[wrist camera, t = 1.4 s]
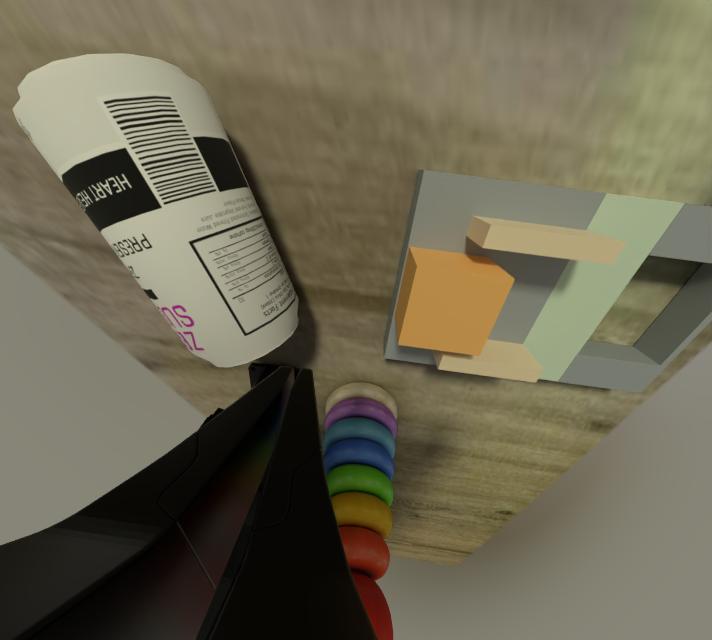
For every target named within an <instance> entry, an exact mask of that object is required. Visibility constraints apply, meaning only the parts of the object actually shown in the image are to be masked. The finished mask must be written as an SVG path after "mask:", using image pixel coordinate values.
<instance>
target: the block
mask: <svg viewBox="0 0 712 640" xmlns="http://www.w3.org/2000/svg"><path fill="white" fill-rule="evenodd" d="M514 280H515V279H514V278H513V277H512V276H511V275H509V274H508V273H507V272H506V271H504V270H503V269H502V268H501V267H499V266H498V265H497V264H496V263H494V262H493V261H492V260H491V259H489V258H488V257H484V256H477V255H469V254H461V253H454V252H446V251H438V250H431V249H423V248H416V247H409V250H408V255H407V260H406V264H405V269H404V273H403V278H402V283H401V287H400V292H399V296H398V301H397V306H396V310H395V322H396V331H397V340H398V345H403V346H410V347H418V348H425V349H432V350H440V351H447V352H454V353H462V354H469V355H477V356H480V354H481V352H482V350H483V348H484V345H485V343H486V341H487V339H488V337H489V335H490V332H491V330H492V328H493V326H494V324H495V322H496V319H497V317H498V315H499V313H500V311H501V309H502V306H503V304H504V302H505V300H506V298H507V296H508V293H509V291H510V289H511V287H512V285H513V283H514Z"/></svg>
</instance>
